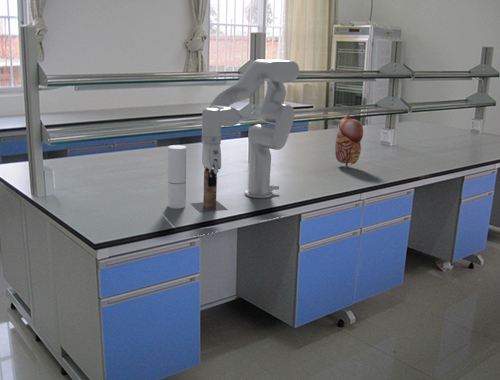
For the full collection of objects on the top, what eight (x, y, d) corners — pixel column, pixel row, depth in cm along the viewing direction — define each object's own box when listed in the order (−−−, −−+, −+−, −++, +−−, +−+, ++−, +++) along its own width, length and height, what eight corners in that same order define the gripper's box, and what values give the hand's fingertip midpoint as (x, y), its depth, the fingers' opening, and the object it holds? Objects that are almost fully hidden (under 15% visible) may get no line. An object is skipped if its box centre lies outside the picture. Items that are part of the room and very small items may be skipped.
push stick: (212, 205, 216) (213, 170, 211) (216, 208, 212) (217, 172, 208) (203, 206, 214) (204, 170, 210) (206, 209, 211) (207, 173, 206)
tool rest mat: (217, 202, 222) (217, 200, 222) (227, 211, 212) (227, 209, 211) (190, 204, 217) (190, 203, 217) (199, 213, 207) (199, 212, 206)
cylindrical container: (186, 204, 217) (187, 145, 210) (184, 210, 210) (185, 149, 203) (169, 203, 217) (169, 144, 210) (167, 209, 210) (167, 148, 203)
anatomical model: (345, 163, 302) (350, 111, 293) (364, 170, 289) (370, 116, 280) (328, 165, 296) (333, 112, 287) (347, 172, 283) (352, 116, 274)
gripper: (228, 143, 200) (226, 189, 205) (212, 135, 214) (211, 178, 219) (209, 144, 196) (208, 191, 202) (195, 136, 211) (194, 179, 216)
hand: (210, 184), depth 210 cm, fingers closed on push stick, 4 cm apart
